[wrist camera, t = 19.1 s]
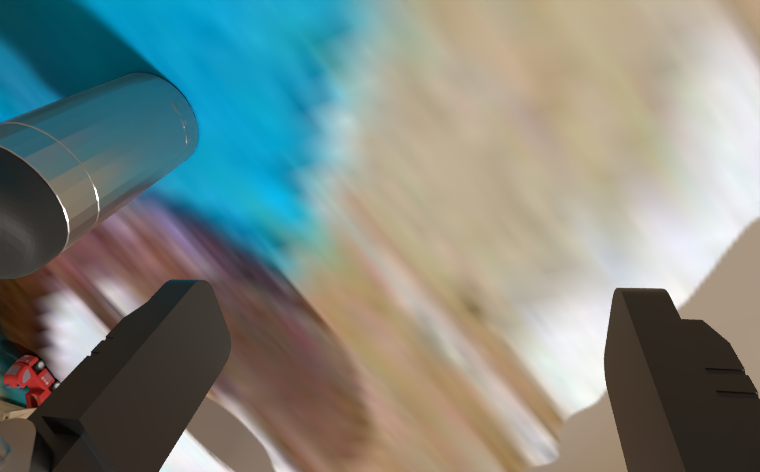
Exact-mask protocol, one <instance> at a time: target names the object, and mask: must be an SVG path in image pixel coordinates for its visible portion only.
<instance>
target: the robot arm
mask: <svg viewBox="0 0 760 472" xmlns="http://www.w3.org/2000/svg"><path fill="white" fill-rule="evenodd" d="M197 141H198V126H197V122H196V118H195V115H194V113H193V111H192V108H191V107H190V105H189V104H188V102H187V100H186V99H185V98H184V97H183V95H182V94H181V93H180V92H179V91H178V90H177V89H176V88H175V87H174V86H172V85H171V84H170V83H169V82H167V81H165V80H164V79H162V78H160V77H158V76H155V75H152V74H149V73H142V72H136V73H129V74H127V75H124V76H121V77H119V78H116V79H113V80H111V81H108V82H106V83H103V84H100V85H97V86H95V87H92V88H89V89H87V90H84V91H82V92H79V93H76V94H74V95H71V96H69V97H66V98H63V99H61V100H58V101H56V102H53V103H51V104H48V105H45V106H43V107H40V108H38V109H35V110H32V111H30V112H27V113H25V114H22V115H19V116H17V117H14V118H12V119H9V120H6V121H4V122H1V123H0V279H14V278H20V277H23V276H26V275H29V274H31V273H33V272H35V271H37V270H38V269H40V268H41V267H43V266H44V265H46V264H47V263H48V262H50V261H51V260H52V259H54V258H55V257H56V256H58V255H59V254H60V253H62V252H63V251H64V250H66V249H67V248H68V247H70V246H71V245H72V244H74V243H75V242H76V241H78V240H79V239H80V238H82V237H83V236H84V235H86V234H87V233H88V232H90V231H91V230H92V229H94V228H95V227H96V226H98V225H99V224H100V223H102V222H103V221H104V220H106V219H107V218H108V217H110V216H111V215H112V214H114V213H115V212H117V211H118V210H119V209H121V208H122V207H123V206H125V205H126V204H127V203H129V202H130V201H131V200H133V199H134V198H135V197H137V196H138V195H139V194H141V193H142V192H144V191H145V190H146V189H148V188H149V187H150V186H152V185H153V184H154V183H156V182H157V181H158V180H160V179H161V178H163V177H164V176H165V175H167V174H168V173H169V172H171V171H172V170H173V169H175V168H176V167H178V166H179V165H180V164H182V163H183V162H184V161H186V160H187V159H188V158H189V157H190V156H191V155H192V154H193V152H194V150H195V148H196V146H197ZM230 348H231V338H230V333H229V330H228V328H227V325H226V322H225V320H224V317H223V315H222V312H221V309H220V307H219V304H218V301H217V299H216V296H215V294H214V291H213V288H212V286H211V285H210V284H209V283H208V282H207V281H205V280H169V281H167V282H166V283H165V284H164V285H163V286H162V287H161V288H160V289H159V290H158V291H157V292H156V293H155V294H154V295H153V296H152V297H151V299H150V300H149V301H148V302H147V303H145V304H144V305H142V306H141V307H139V308H138V309H136V310H135V311H133V312H132V313H130V314H129V315H127V316H126V317H124V318H123V319H122V320H121V321H120V322H119V323H118V324H117V325H116V326H115V327H114V328H113V329H112V330H111V331H110V333H109V334H108V335H107V336H106V340H102V341H101V342H100V343H99V344H98V345H97V346H96V347H95V348H94V349H93V350H92V351H91V356H87V357H86V358H85V359H84V360H83V361H82V362H81V363H80V364H79V365H78V366H77V367H76V368H75V369H74V370H73V371H72V372H71V373H70V374H69V375H68V376H67V377H66V378H65V379H64V381H63V382H62V383H61V384H60V385H59V386H58V387H57V388H56V389H55V390H54V391H53V392H52V393H51V394H50V395H49V396H48V397H47V398H46V399H45V400H44V401H43V402H42V403H41V405H40V406H39V407H38V408H37V409H36V410H35V411H34V412H33V413H32V414H31V415H30V416H29V417H28V418H27V419H24V418H13V419H7V420H3V421H0V472H159V470H160V469H161V467H162V465H163V464H164V462H165V461H166V459H167V457H168V456H169V454H170V453H171V451H172V449H173V448H174V446H175V444H176V443H177V441H178V440H179V438H180V436H181V435H182V433H183V432H184V430H185V428H186V427H187V425H188V423H189V422H190V420H191V419H192V417H193V415H194V414H195V412H196V411H197V409H198V407H199V406H200V404H201V402H202V401H203V399H204V398H205V396H206V394H207V393H208V391H209V390H210V388H211V386H212V385H213V383H214V382H215V380H216V378H217V377H218V375H219V373H220V372H221V370H222V369H223V367H224V365H225V364H226V362H227V360H228V357H229V354H230ZM604 371H605V380H606V386H607V390H608V394H609V398H610V402H611V406H612V410H613V414H614V418H615V422H616V426H617V430H618V434H619V438H620V442H621V446H622V450H623V454H624V458H625V462H626V465H627V469H628V472H760V399H759V398H758V392H757V390H756V388H755V386H754V384H753V383H752V381H751V379H750V378H749V376H748V375H745V369H744V367H743V366H742V364H741V362H740V360H739V359H738V357H737V355H736V353H735V352H734V350H733V348H732V347H731V345H730V343H729V342H728V341H727V340H725V339H724V338H723V337H722V336H721V335H720V334H718V333H717V332H716V331H715V330H713V329H712V328H711V327H710V326H709V325H708V324H706V323H705V322H704V321H703V320H688V319H681V318H680V316H679V314H678V312H677V310H676V308H675V306H674V304H673V302H672V300H671V297H670V295H669V294H668V292H667V291H666V290H665V289H654V288H616V289H615V291H614V294H613V299H612V305H611V312H610V319H609V325H608V332H607V339H606V345H605V353H604Z"/></svg>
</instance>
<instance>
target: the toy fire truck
mask: <svg viewBox="0 0 760 472" xmlns="http://www.w3.org/2000/svg"><path fill="white" fill-rule="evenodd" d="M44 366H45V362H44V361H43V360H39V359H38V358H37V357H35V356H32V355H24V356H22V357H21V358H20V359H18V360H17V361H16V362H15V363H14V364H13V365H12V366H11V367H10V368H9V369H8V370H7V372H6V373H5V375H4V383H5V384H6V385H7V386H6V387H7V388H24V387H25V386H26V385H27V386H28V387H29V389H30V391H29V392H28V393H27V394H25V398H26V402H27V407H28V408H24V409H17V410H10V411H5V412H4V414H3V420H7V419H13V418H24V419H27V418H28V417H29V416H30V415H31V414H32V413H33V412H34V411H35V410H36V409H37V408H38V407H39V406H40V405H41V403H42V402H43V401H44V400H45V399H46V398H47V397H48V396H49V395H50V394H51V393H52V392H53V391H54V390H55V389H56V388H57V387H58V386H59V385H60V384H61V383H60V382H58V381H56V382H54V381H55V379H54V378H53V377H52V375H51V374H50V373H49V372H48V370H47V369H46V368H44Z"/></svg>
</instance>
